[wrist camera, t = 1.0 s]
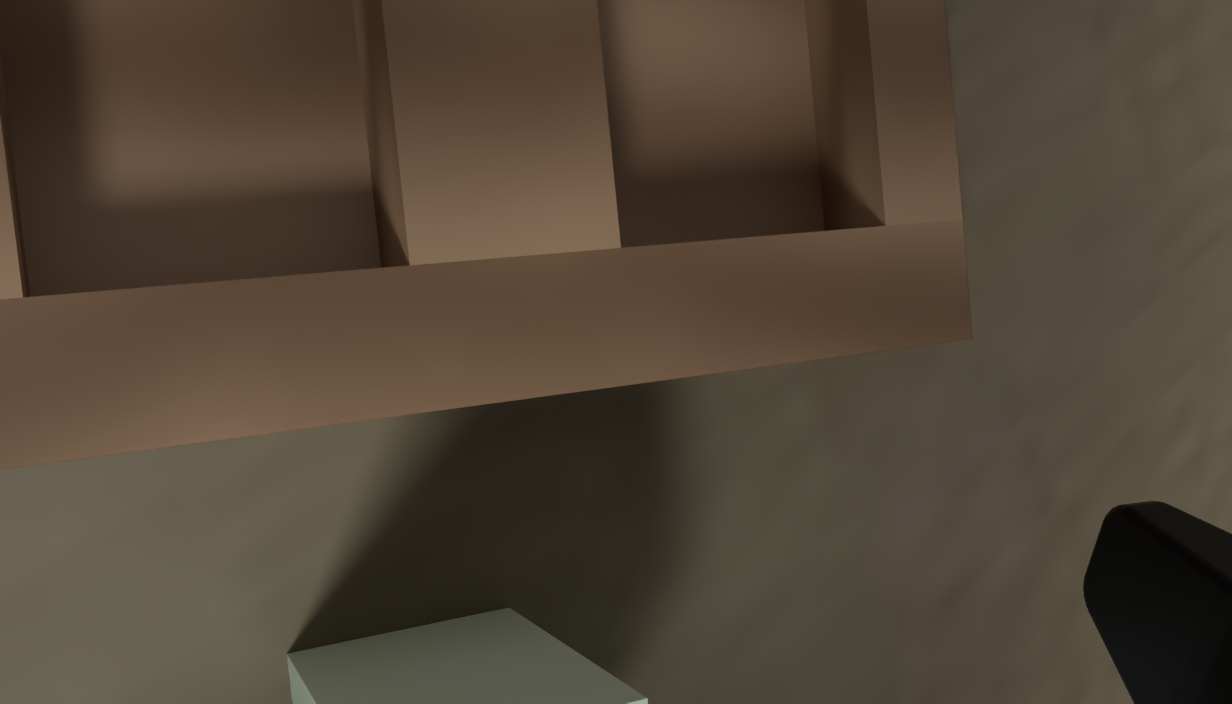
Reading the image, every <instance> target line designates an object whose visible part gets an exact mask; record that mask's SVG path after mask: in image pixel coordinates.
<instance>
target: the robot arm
mask: <svg viewBox="0 0 1232 704" xmlns="http://www.w3.org/2000/svg"><path fill="white" fill-rule="evenodd" d="M1083 591H1084V598H1085V602H1086V606H1087V608H1088V611H1089V613H1090V615H1091V617H1092V619H1093V621H1094V623H1095V625H1096V627H1097V629H1098V631H1099V633H1100V635H1101V637H1102V639H1103V641H1104V643H1105V645H1106V648H1107V650H1108V652H1109V654H1110V656H1111V658H1112V660H1113V662H1114V664H1115V666H1116V668H1117V670H1118V672H1119V674H1120V676H1121V678H1122V680H1123V682H1124V684H1125V686H1126V688H1127V690H1128V692H1129V694H1130V696H1131V698H1132V700H1133V702H1134V704H1232V534H1231V533H1229V532H1226V531H1224V530H1222V529H1220V528H1218V527H1216V526H1214V525H1211V524H1209V523H1207V522H1205V521H1203V520H1201V519H1199V518H1196V517H1194V516H1192V515H1190V514H1188V513H1186V512H1184V511H1181V510H1179V509H1177V508H1175V507H1173V506H1171V505H1169V504H1166V503H1163V502H1159V501H1148V502H1140V503H1131V504H1123V505H1118V506H1116V507H1114V508H1112V509H1111V510H1110V511H1109V512H1108V513H1107V515H1106V516H1105V518H1104V520H1103V523H1102V526H1101V529H1100V532H1099V535H1098V538H1097V541H1096V544H1095V547H1094V550H1093V553H1092V556H1091V559H1090V562H1089V565H1088V568H1087V571H1086V574H1085V577H1084V584H1083Z"/></svg>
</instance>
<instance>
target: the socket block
mask: <svg viewBox="0 0 1232 704" xmlns="http://www.w3.org/2000/svg"><path fill="white" fill-rule="evenodd" d="M968 339H973V338H972V326H971V314H970V302H969V289H968V277H967V265H966V253H965V241H964V229H963V217H962V204H961V192H960V180H959V168H958V156H957V144H956V132H955V119H954V107H953V95H952V83H951V71H950V59H949V47H948V34H947V22H946V10H945V0H0V470H1V469H8V468H15V467H23V466H30V465H38V464H45V463H53V462H60V461H68V460H75V459H82V458H90V457H97V456H105V455H112V454H120V453H127V452H135V451H142V450H149V449H157V448H164V447H172V446H179V445H187V444H194V443H201V442H209V441H216V440H224V439H231V438H239V437H246V436H254V435H261V434H268V433H276V432H283V431H291V430H298V429H306V428H313V427H321V426H328V425H335V424H343V423H350V422H358V421H365V420H373V419H380V418H388V417H395V416H402V415H410V414H417V413H425V412H432V411H440V410H447V409H454V408H462V407H469V406H477V405H484V404H492V403H499V402H507V401H514V400H521V399H529V398H536V397H544V396H551V395H559V394H566V393H574V392H581V391H588V390H596V389H603V388H611V387H618V386H626V385H633V384H640V383H648V382H655V381H663V380H670V379H678V378H685V377H693V376H700V375H707V374H715V373H722V372H730V371H737V370H745V369H752V368H760V367H767V366H774V365H782V364H789V363H797V362H804V361H812V360H819V359H827V358H834V357H841V356H849V355H856V354H864V353H871V352H879V351H886V350H893V349H901V348H908V347H916V346H923V345H931V344H938V343H946V342H953V341H960V340H968Z"/></svg>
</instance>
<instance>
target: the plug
mask: <svg viewBox="0 0 1232 704" xmlns="http://www.w3.org/2000/svg"><path fill="white" fill-rule="evenodd" d="M287 660H288V669H289V677H290V686H291V695H292V704H648V698H646V697H645V696H643V695H642V694H640V693H639V692H637V691H636V690H634V689H633V688H631V687H630V686H628V685H627V684H625V683H624V682H622V681H621V680H619V679H618V678H616V677H614V676H613V675H611V674H610V673H608V672H607V671H605V670H604V669H602V668H601V667H599V666H598V665H596V664H595V663H593V662H592V661H590V660H589V659H587V658H585V657H584V656H582V655H581V654H579V653H578V652H576V651H575V650H573V649H572V648H570V647H569V646H567V645H566V644H564V643H563V642H561V641H560V640H558V639H557V638H555V637H553V636H552V635H550V634H549V633H547V632H546V631H544V630H543V629H541V628H540V627H538V626H537V625H535V624H534V623H532V622H531V621H529V620H528V619H526V618H524V617H523V616H521V615H520V614H518V613H517V612H515V611H514V610H512V609H511V608H504V609H500V610H495V611H490V612H485V613H480V614H475V615H471V616H466V617H461V618H456V619H451V620H447V621H442V622H437V623H432V624H427V625H423V626H418V627H413V628H408V629H403V630H399V631H394V632H389V633H384V634H379V635H374V636H370V637H365V638H360V639H355V640H350V641H346V642H341V643H336V644H331V645H326V646H322V647H317V648H312V649H307V650H302V651H298V652H293V653H288V654H287Z"/></svg>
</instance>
